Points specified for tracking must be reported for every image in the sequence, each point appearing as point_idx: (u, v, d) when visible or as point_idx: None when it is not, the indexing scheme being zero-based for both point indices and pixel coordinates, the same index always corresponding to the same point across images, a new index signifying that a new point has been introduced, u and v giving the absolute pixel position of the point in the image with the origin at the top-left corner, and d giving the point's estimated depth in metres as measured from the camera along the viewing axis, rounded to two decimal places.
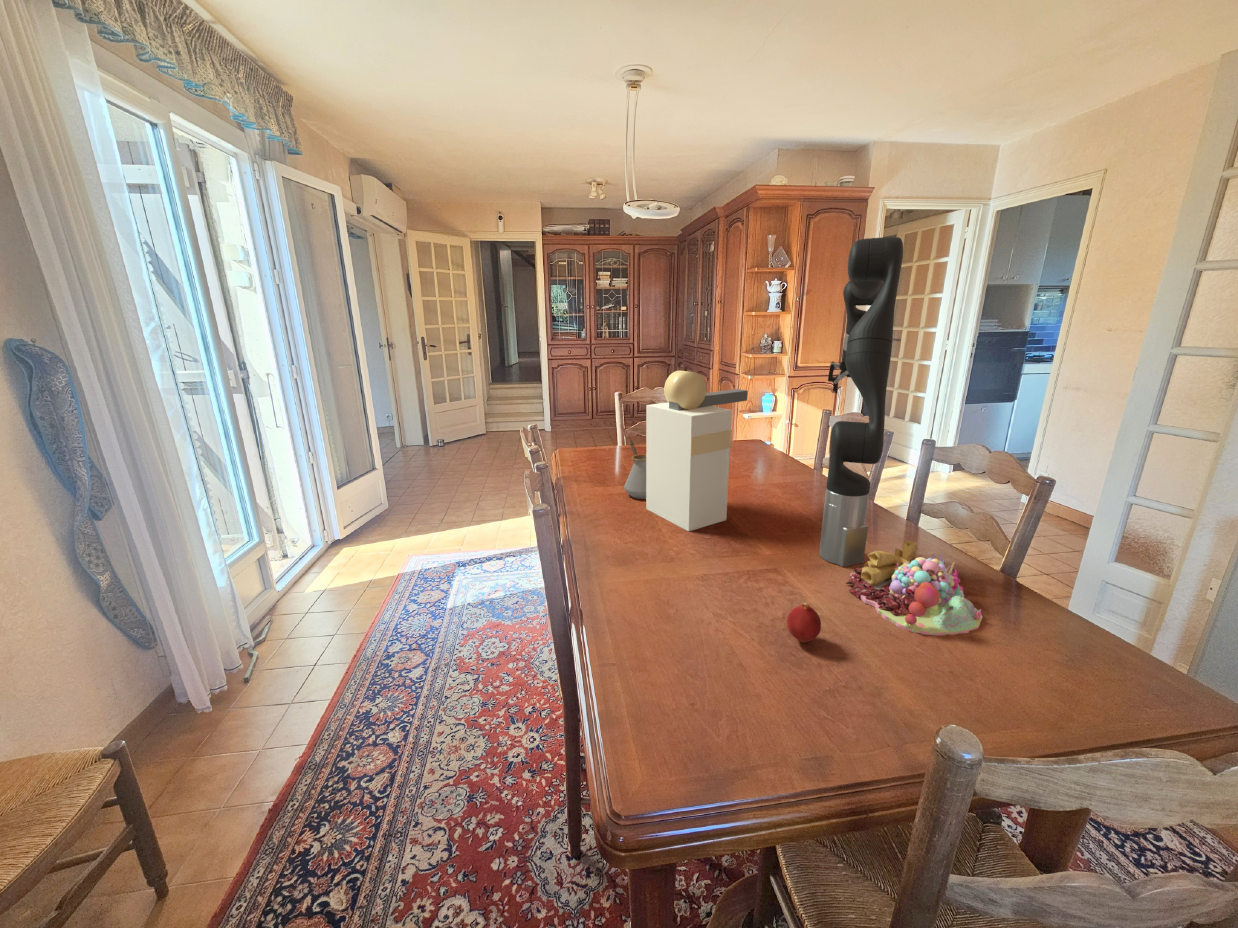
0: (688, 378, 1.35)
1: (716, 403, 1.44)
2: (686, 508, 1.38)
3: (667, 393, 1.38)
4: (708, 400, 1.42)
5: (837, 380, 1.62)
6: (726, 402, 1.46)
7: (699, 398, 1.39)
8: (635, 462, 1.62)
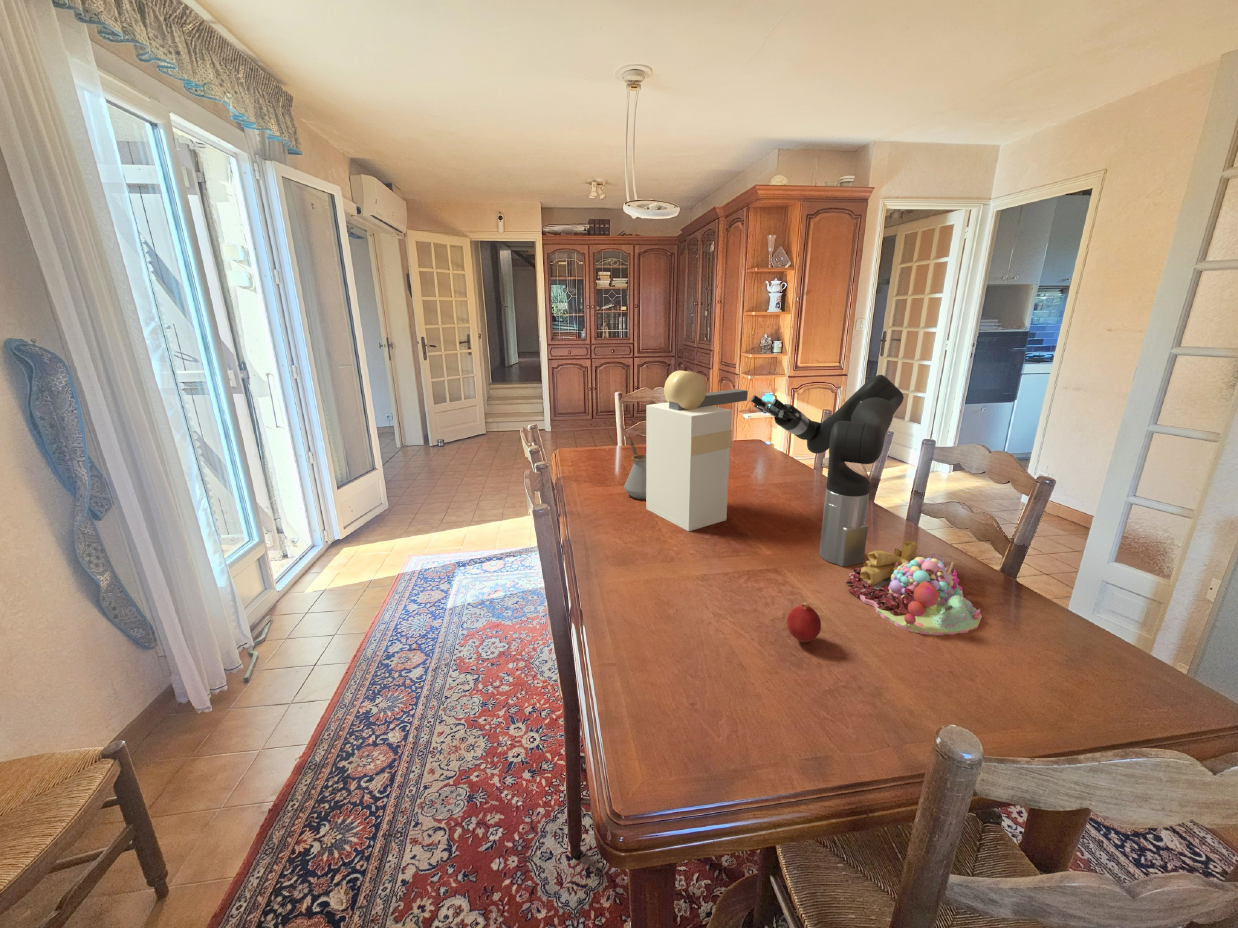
0: (688, 378, 1.35)
1: (716, 403, 1.44)
2: (686, 508, 1.38)
3: (667, 393, 1.38)
4: (708, 400, 1.42)
5: None
6: (726, 402, 1.46)
7: (699, 398, 1.39)
8: (635, 462, 1.62)
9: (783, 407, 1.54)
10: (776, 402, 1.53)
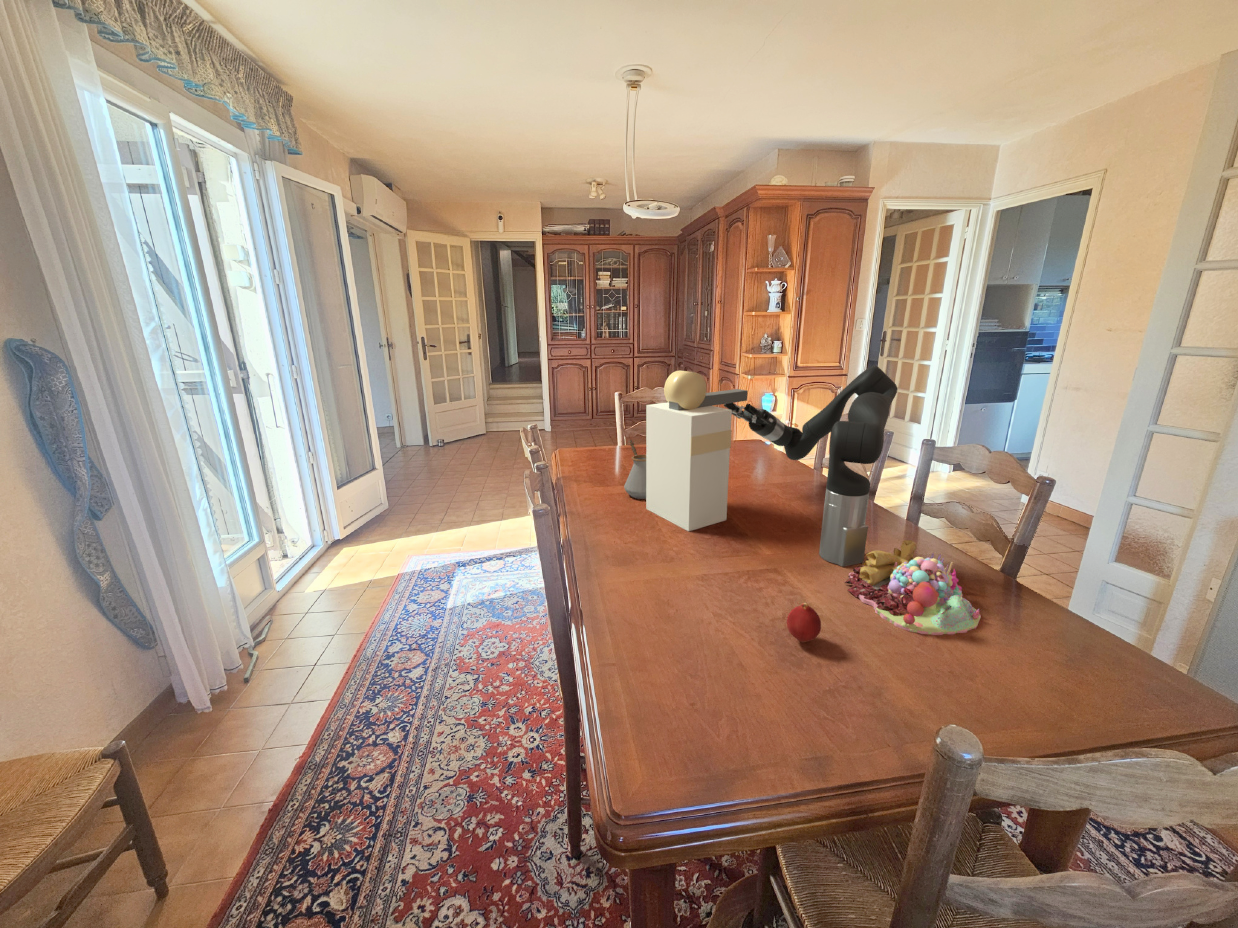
0: (688, 378, 1.35)
1: (716, 403, 1.44)
2: (686, 508, 1.38)
3: (667, 393, 1.38)
4: (708, 400, 1.42)
5: None
6: (726, 402, 1.46)
7: (699, 398, 1.39)
8: (635, 462, 1.62)
9: (756, 412, 1.48)
10: (748, 407, 1.47)
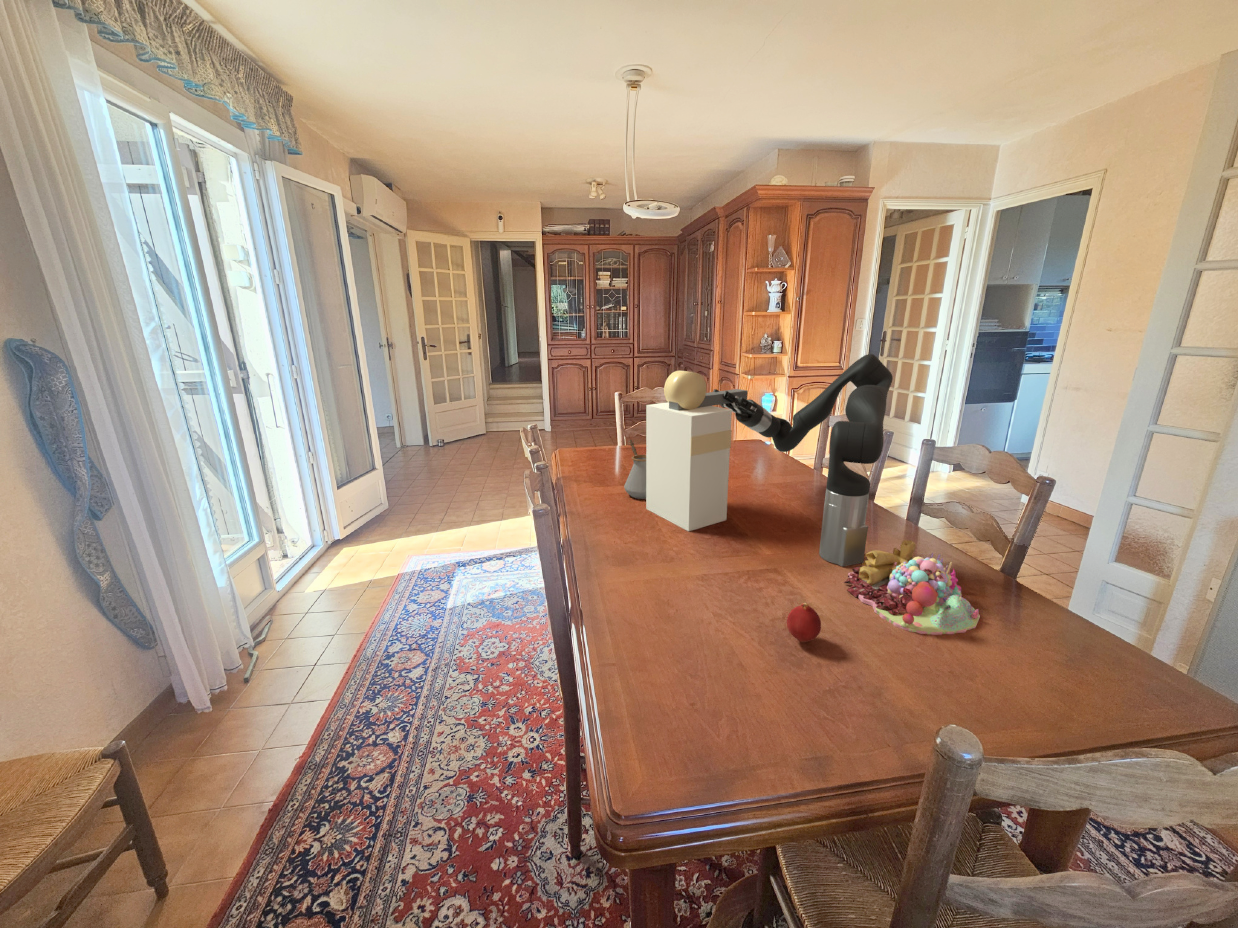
0: (688, 378, 1.35)
1: (716, 403, 1.44)
2: (686, 508, 1.38)
3: (667, 393, 1.38)
4: (708, 400, 1.42)
5: None
6: (726, 402, 1.46)
7: (699, 398, 1.39)
8: (635, 462, 1.62)
9: (734, 400, 1.45)
10: (726, 394, 1.44)
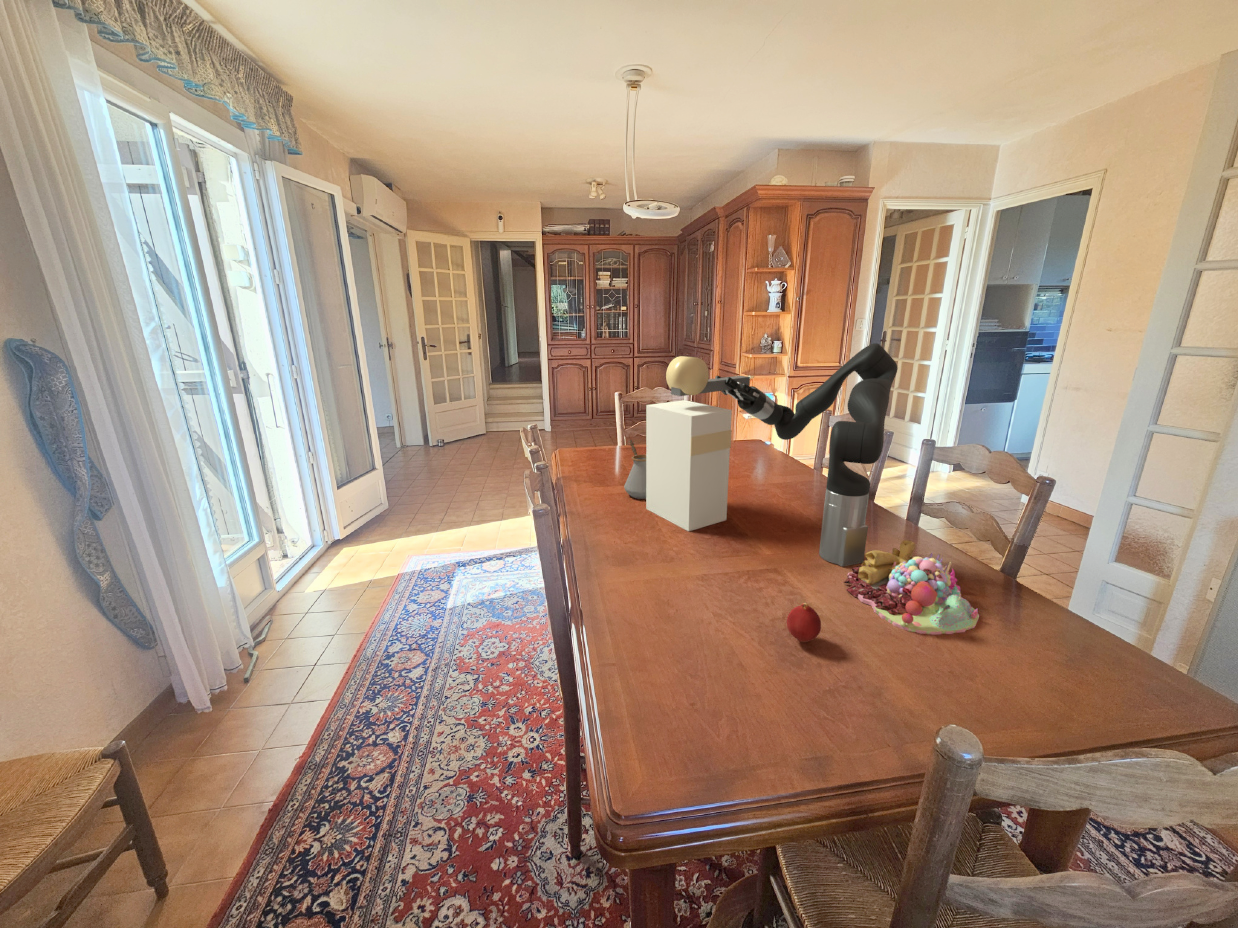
0: (690, 363, 1.34)
1: (718, 389, 1.43)
2: (686, 508, 1.38)
3: (669, 379, 1.37)
4: (711, 386, 1.41)
5: None
6: (728, 388, 1.45)
7: (701, 384, 1.38)
8: (635, 462, 1.62)
9: (737, 386, 1.45)
10: (729, 380, 1.43)
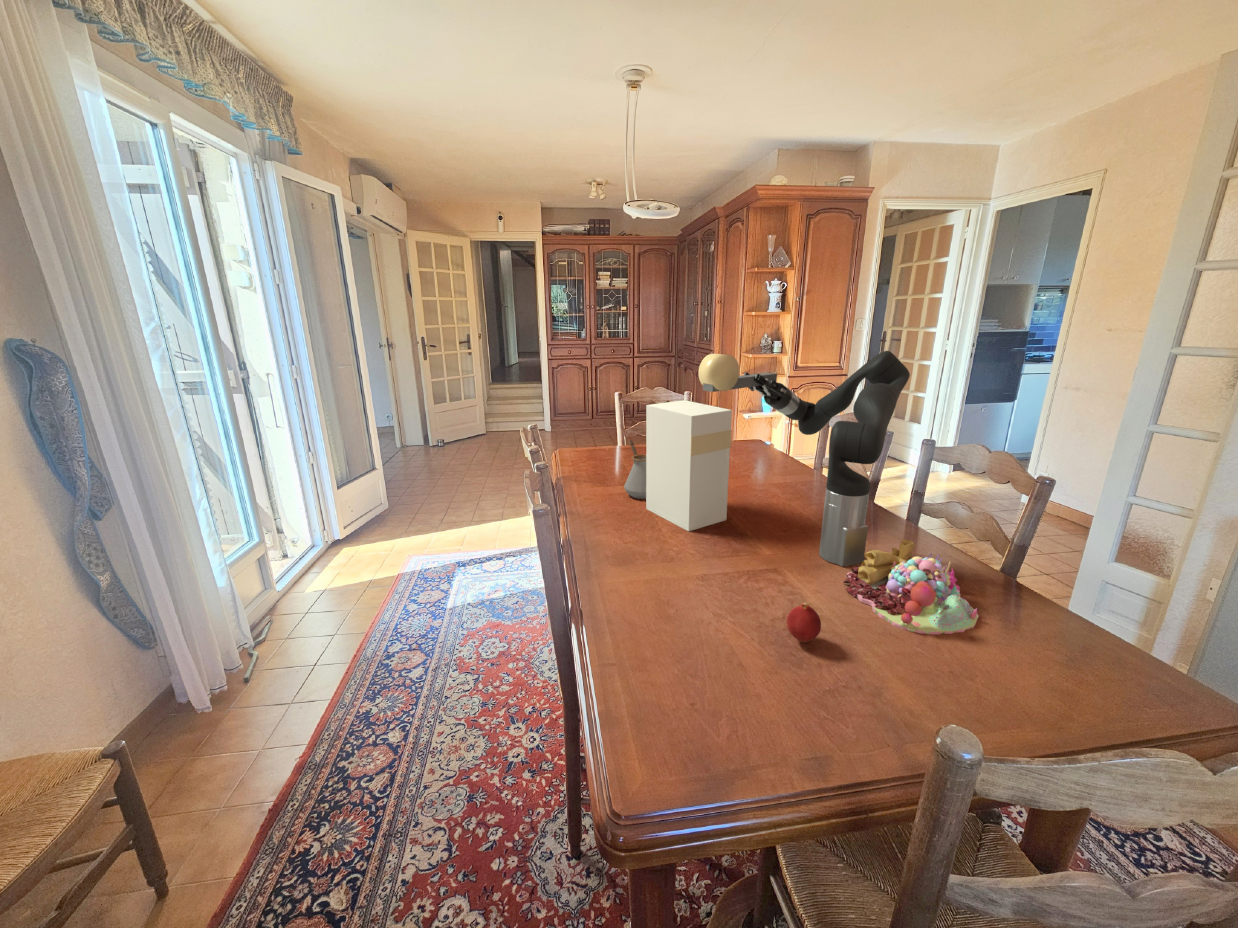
0: (722, 360, 1.40)
1: (748, 385, 1.49)
2: (686, 508, 1.38)
3: (702, 375, 1.43)
4: (741, 382, 1.47)
5: None
6: (757, 384, 1.51)
7: (732, 380, 1.44)
8: (635, 462, 1.62)
9: (765, 382, 1.51)
10: (758, 377, 1.49)
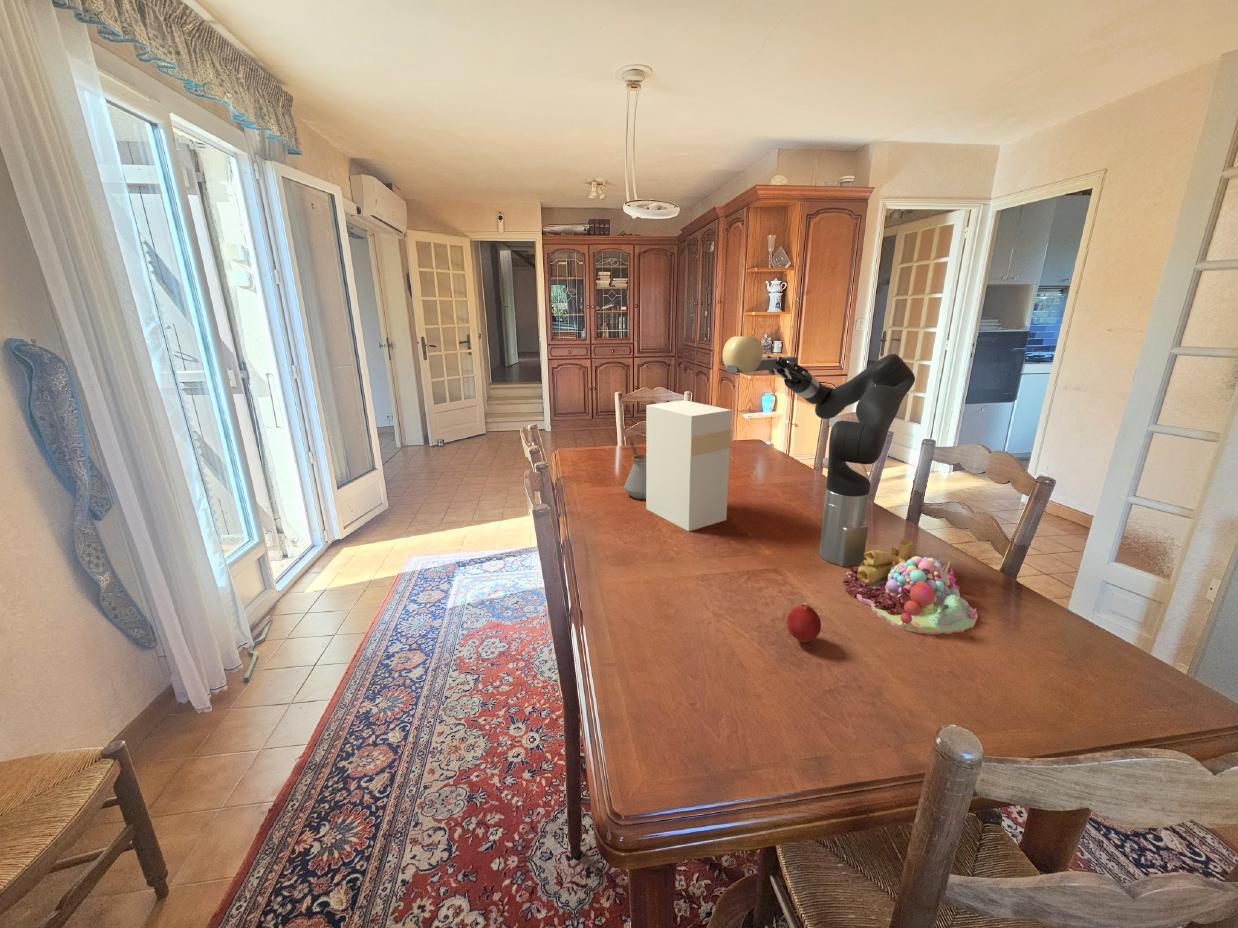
0: (747, 342, 1.43)
1: (770, 368, 1.52)
2: (686, 508, 1.38)
3: (726, 357, 1.46)
4: (763, 364, 1.50)
5: None
6: (779, 367, 1.54)
7: (756, 362, 1.47)
8: (635, 462, 1.62)
9: (787, 365, 1.54)
10: (780, 360, 1.52)
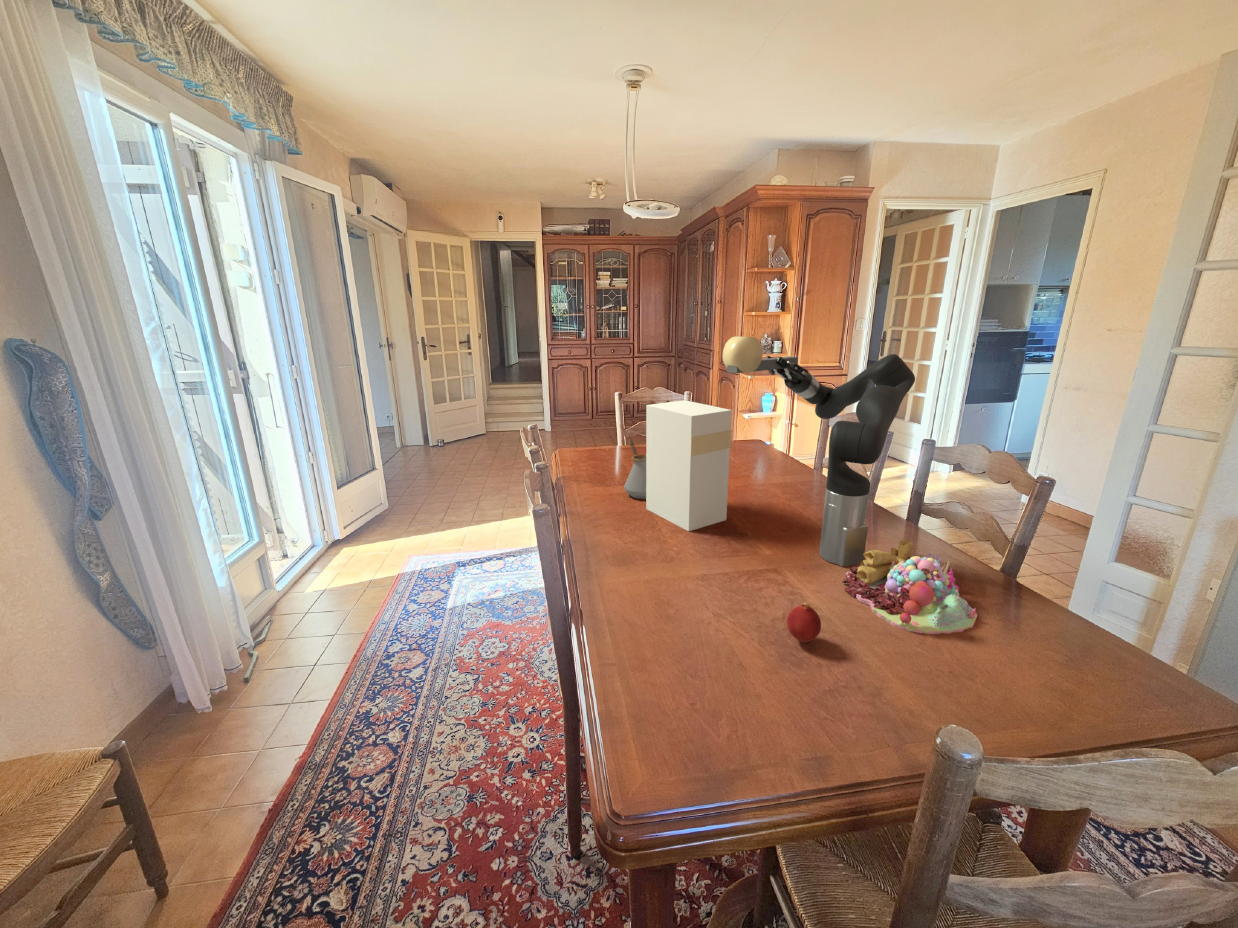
0: (747, 342, 1.43)
1: (770, 368, 1.52)
2: (686, 508, 1.38)
3: (726, 357, 1.46)
4: (763, 364, 1.50)
5: None
6: (779, 367, 1.54)
7: (756, 362, 1.47)
8: (635, 462, 1.62)
9: (787, 365, 1.54)
10: (780, 360, 1.52)
